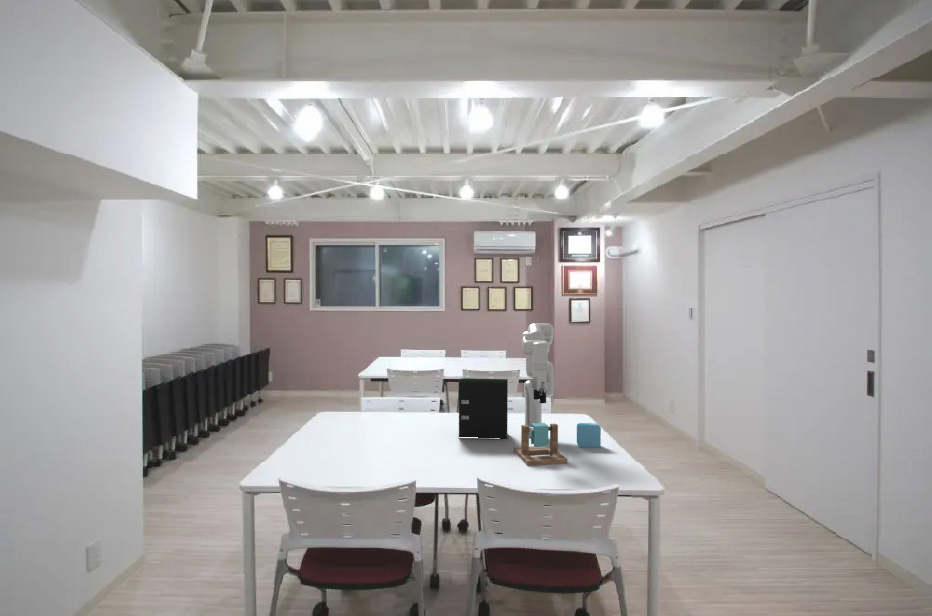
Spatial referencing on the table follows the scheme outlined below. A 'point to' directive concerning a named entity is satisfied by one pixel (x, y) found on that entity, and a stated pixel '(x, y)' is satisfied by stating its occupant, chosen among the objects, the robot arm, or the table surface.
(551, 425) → the hook stand
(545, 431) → the teal rectangular block
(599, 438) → the data package
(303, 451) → the table surface
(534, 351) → the robot arm
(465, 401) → the binder
